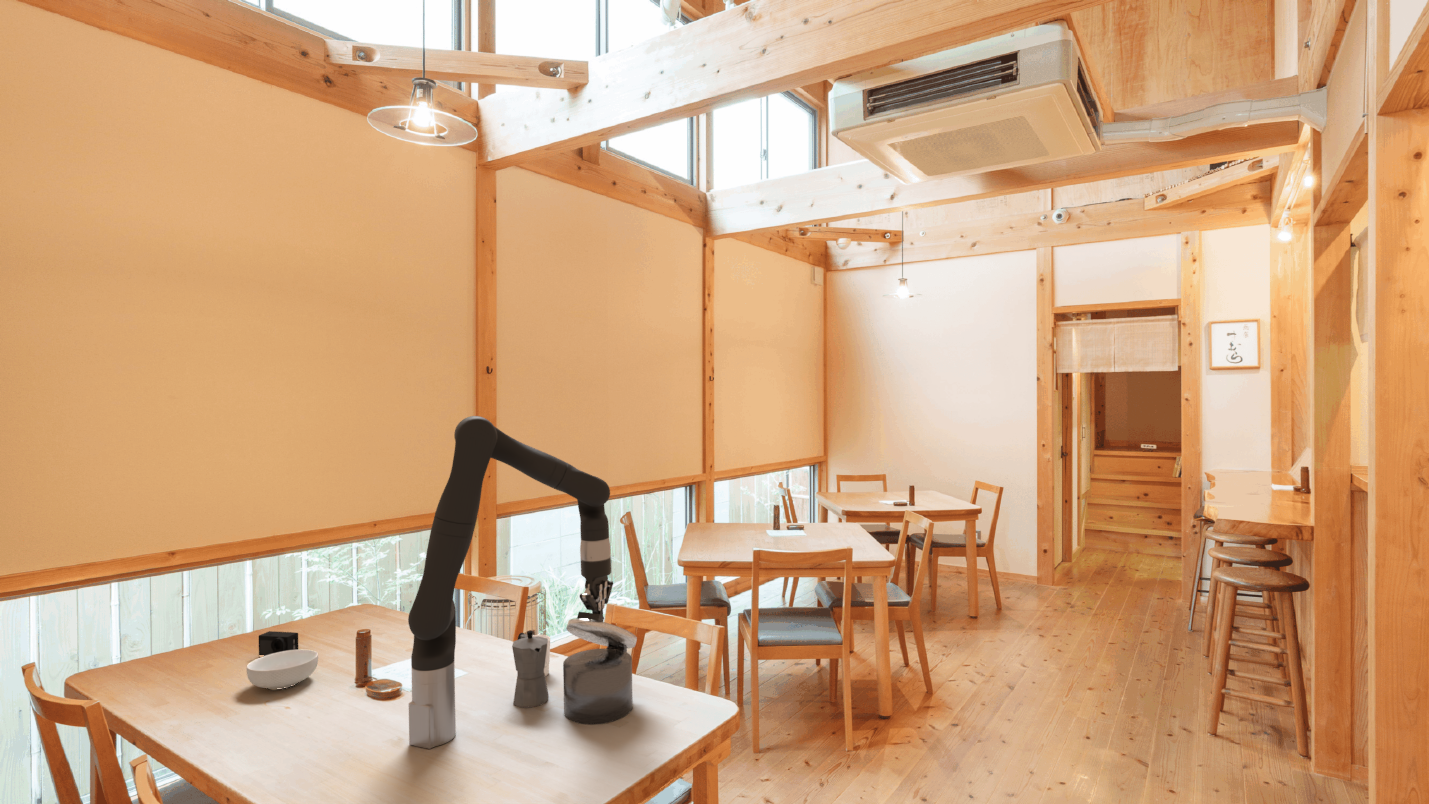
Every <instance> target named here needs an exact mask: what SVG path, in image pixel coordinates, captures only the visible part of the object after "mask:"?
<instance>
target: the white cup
mask: <svg viewBox="0 0 1429 804" xmlns="http://www.w3.org/2000/svg"><path fill="white" fill-rule="evenodd" d="M536 636H539V637H543V638H547V639H548V643H547V651H546V659H545V667H544V673H545V677H547V676H548V675H549V674H550V673H549V672H550V655H551V637H550V636H549V635H546V634H533V636H532V637H536Z"/></svg>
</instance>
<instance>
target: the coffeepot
mask: <svg viewBox="0 0 1429 804" xmlns="http://www.w3.org/2000/svg"><path fill="white" fill-rule="evenodd" d="M533 635H534V630H528V631H526V633H524V632H520V633H519V634H518V636H517V640H513V642H512V646H511V649H512V653H513V659H514V665H515V666H514V667H515V670H516V672H517V676H516V683H515V688H514V689H515V690H514V696H513V705H515V706H516V707H519V708H524V709H525V708H526V709H527V708H535V707H539V706H542V705H543V704H545V703H546V702H548V701H549V690H548V686H547V685H548V684H547V679H546V676H545V673H544V667H545V659H546V651H547V643H548V639H547V638H543V637H539V636H536V637H532V636H533ZM541 704H542V705H541Z"/></svg>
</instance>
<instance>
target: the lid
mask: <svg viewBox="0 0 1429 804" xmlns="http://www.w3.org/2000/svg"><path fill="white" fill-rule="evenodd" d="M604 619H605V616H604V615H603V616H602V615H601V614H595V613H592V612H586V611H578V614H577V617H576V618H570V619H569V620H568V622H567V625H566V631H567V632H568V633H570V634H571V635H572V636H575V638H579V639H582V640H584V641H587V642H589V643H593V644H596V645H600V646H603V647H604V646H605V647H606V648H607V647H613V648H621V649H625V648H627V649H632V648H635V647H636V644H637V640H638V637H637V636H636V635H635V634H634V633H633V632H631V631H630V630H627V629H625V628H623V627H621V626H620V627H619V626H618V625H615V624H612V623H608V622H604Z"/></svg>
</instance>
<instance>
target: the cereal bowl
mask: <svg viewBox="0 0 1429 804" xmlns="http://www.w3.org/2000/svg"><path fill="white" fill-rule="evenodd" d="M318 663H319V653H318V651H315V650H314V649H313V650H312V649H307V648H306V649H305V648H303V649H299V648H298V650H288V651H282V652H277V653H273V654H269V655H266V656H263V657H260V658H259V657H258V658H256V659H253V660H252V661H250V662H249V663H248V664H247V665H246V676H247V679H248V680H249V682H250V684H252V685H254V686H255V687H258V688H261V689H262V688H264V689H265V688H266V689H267V688H269V689H277V688H284V687H289V686H291V685H294V684H296V683H298V682H299V683H300V682H302V681H303V680H306V679H308V677H310V676H311V675H312V674H313V673H314V671H315V670H316V669H317V666H318ZM299 683H298V684H299Z"/></svg>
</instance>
